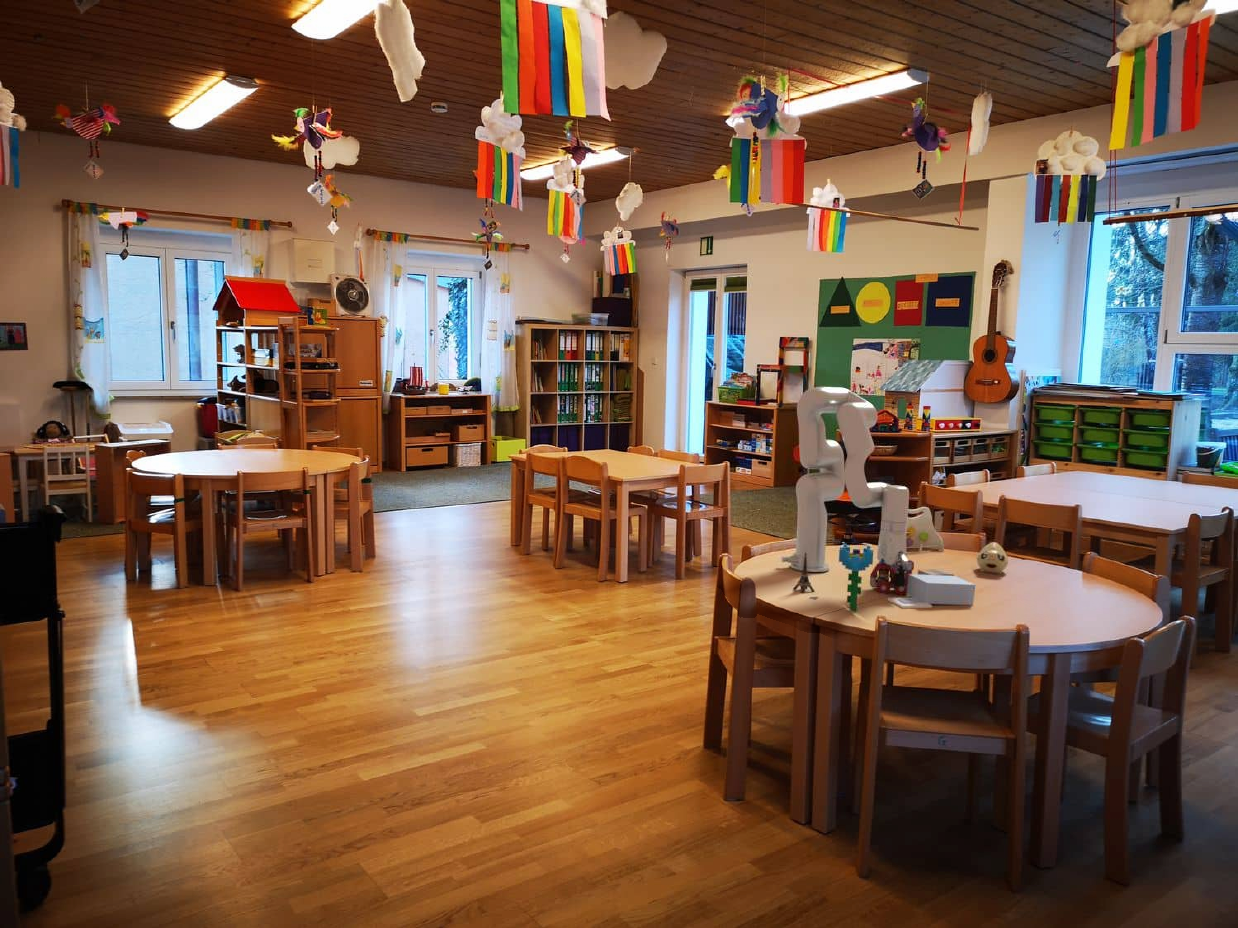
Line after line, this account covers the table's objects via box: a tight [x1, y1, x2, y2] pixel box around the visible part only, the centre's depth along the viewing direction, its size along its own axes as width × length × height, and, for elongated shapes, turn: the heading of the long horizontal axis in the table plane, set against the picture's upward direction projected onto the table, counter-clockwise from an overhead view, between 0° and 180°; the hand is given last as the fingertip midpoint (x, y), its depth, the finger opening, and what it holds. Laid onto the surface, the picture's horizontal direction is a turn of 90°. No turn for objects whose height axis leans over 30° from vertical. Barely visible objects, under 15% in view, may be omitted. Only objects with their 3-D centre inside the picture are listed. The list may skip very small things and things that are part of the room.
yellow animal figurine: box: [976, 541, 1009, 574], centre depth 295 cm, size 10×12×11 cm
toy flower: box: [838, 543, 874, 612], centre depth 244 cm, size 9×9×18 cm
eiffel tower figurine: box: [792, 553, 819, 600], centre depth 264 cm, size 15×10×13 cm
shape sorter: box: [906, 506, 945, 554], centre depth 324 cm, size 20×10×18 cm, turn 111°
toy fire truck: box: [869, 558, 915, 596], centre depth 267 cm, size 7×12×10 cm, turn 77°
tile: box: [887, 596, 933, 609], centre depth 253 cm, size 9×9×1 cm
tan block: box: [917, 568, 955, 576], centre depth 270 cm, size 8×7×6 cm
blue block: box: [905, 573, 976, 606], centre depth 258 cm, size 15×11×6 cm
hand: (890, 582), depth 267 cm, fingers open, 9 cm apart
